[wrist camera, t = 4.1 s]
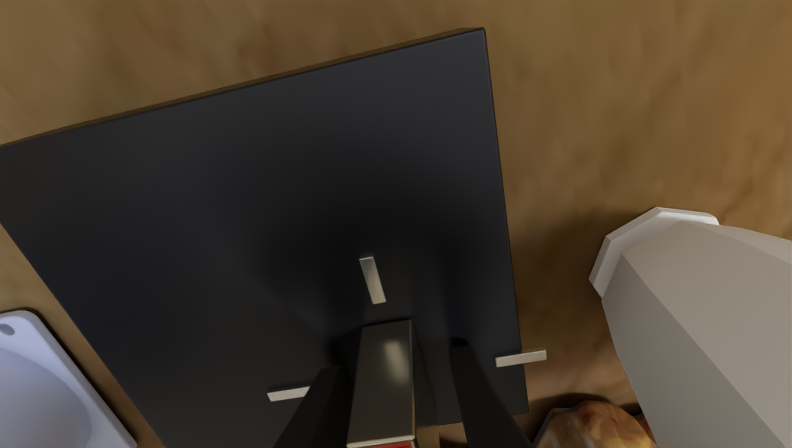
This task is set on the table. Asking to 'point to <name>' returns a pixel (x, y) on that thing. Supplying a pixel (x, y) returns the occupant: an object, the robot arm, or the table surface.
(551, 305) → the table surface
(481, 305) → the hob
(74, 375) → the robot arm
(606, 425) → the ornament
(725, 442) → the cup
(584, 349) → the table surface
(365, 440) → the red-tipped beige block
